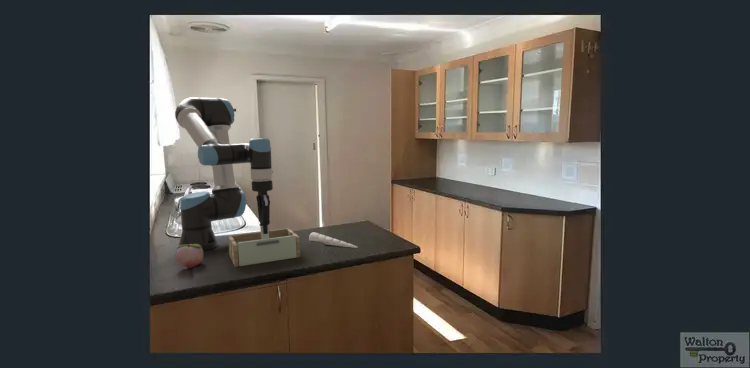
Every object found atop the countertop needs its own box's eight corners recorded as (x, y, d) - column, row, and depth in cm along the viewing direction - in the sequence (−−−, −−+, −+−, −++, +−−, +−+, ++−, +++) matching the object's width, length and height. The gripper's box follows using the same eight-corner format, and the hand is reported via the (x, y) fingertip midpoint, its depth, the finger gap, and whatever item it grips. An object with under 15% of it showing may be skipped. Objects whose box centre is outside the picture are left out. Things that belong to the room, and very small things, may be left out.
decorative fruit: (207, 263, 156) (205, 237, 154) (201, 271, 148) (199, 243, 146) (181, 265, 154) (179, 239, 153) (174, 272, 146) (171, 245, 145)
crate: (229, 257, 162) (228, 235, 161) (289, 249, 173) (288, 228, 172) (235, 270, 148) (233, 245, 147) (300, 259, 159) (299, 237, 157)
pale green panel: (239, 265, 149) (237, 242, 148) (295, 256, 159) (294, 235, 157) (239, 266, 148) (238, 243, 147) (297, 257, 157) (296, 236, 156)
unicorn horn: (353, 251, 170) (353, 239, 169) (308, 243, 182) (307, 233, 181) (359, 248, 174) (359, 237, 173) (314, 241, 186) (314, 230, 185)
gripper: (276, 181, 150) (279, 244, 153) (268, 177, 161) (271, 236, 164) (254, 182, 146) (258, 247, 150) (248, 178, 158) (252, 238, 161)
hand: (265, 241), depth 157 cm, fingers closed
